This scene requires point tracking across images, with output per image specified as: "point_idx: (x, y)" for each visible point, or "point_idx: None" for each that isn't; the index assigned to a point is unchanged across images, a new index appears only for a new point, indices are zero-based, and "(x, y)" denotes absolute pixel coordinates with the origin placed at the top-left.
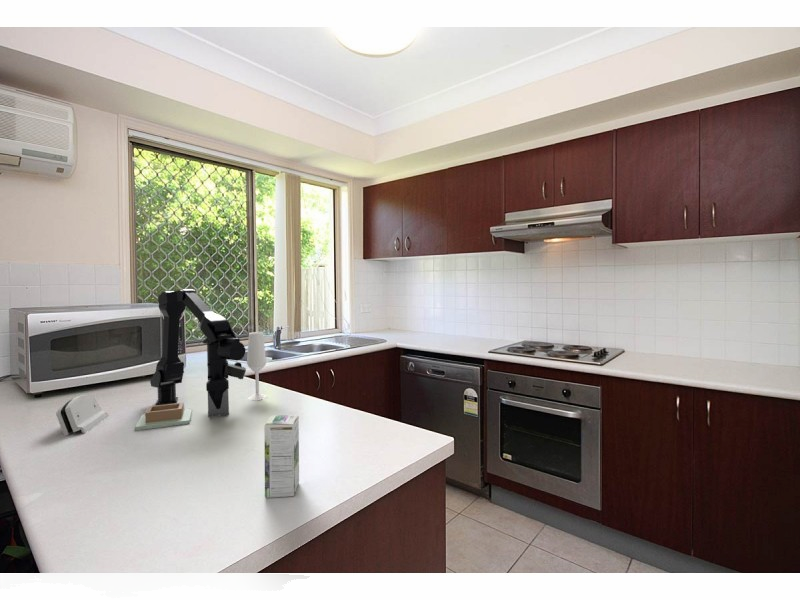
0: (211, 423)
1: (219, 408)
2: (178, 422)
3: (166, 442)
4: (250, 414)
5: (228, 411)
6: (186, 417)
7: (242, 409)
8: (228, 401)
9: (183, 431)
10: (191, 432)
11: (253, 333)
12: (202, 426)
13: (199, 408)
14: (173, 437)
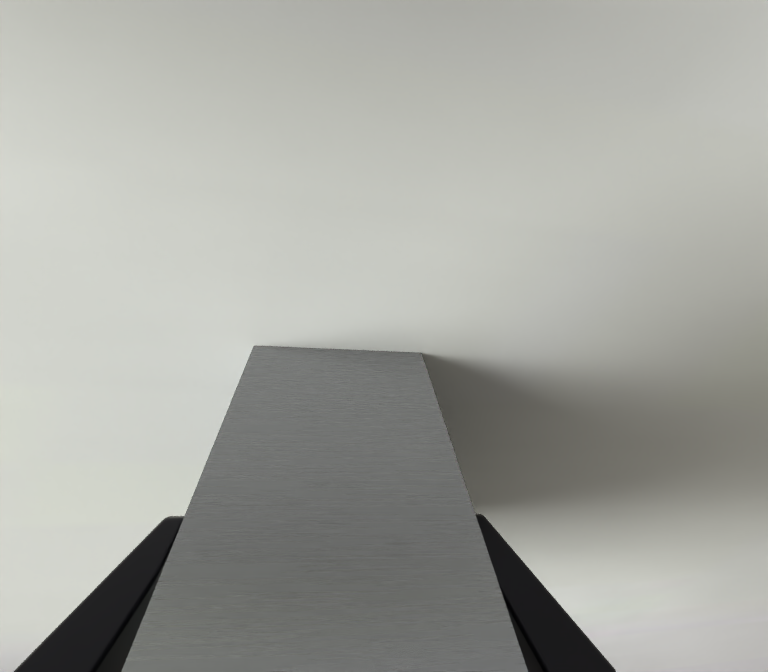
0: (616, 493)
1: (481, 519)
2: None
3: (755, 645)
4: (635, 60)
5: (427, 378)
6: None
7: (250, 146)
8: (467, 493)
9: (643, 611)
10: (707, 579)
11: None
12: (638, 539)
13: (23, 583)
14: (706, 633)
